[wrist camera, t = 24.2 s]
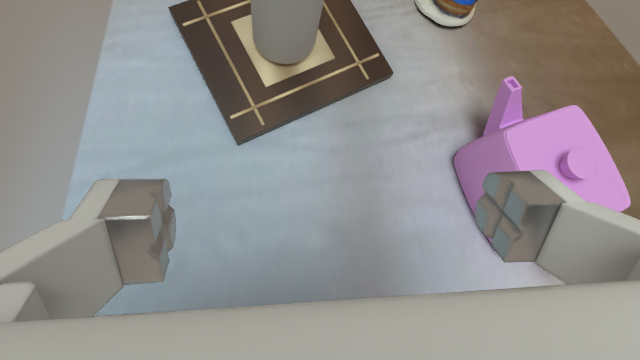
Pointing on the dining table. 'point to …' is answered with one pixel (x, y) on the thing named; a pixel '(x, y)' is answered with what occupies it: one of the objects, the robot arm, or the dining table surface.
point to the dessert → (448, 11)
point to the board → (276, 64)
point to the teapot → (541, 151)
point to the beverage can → (285, 28)
